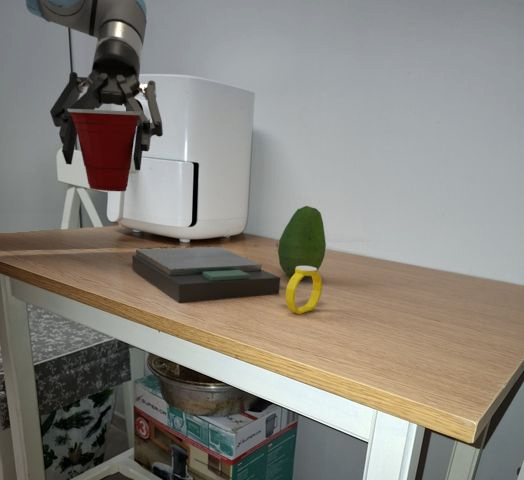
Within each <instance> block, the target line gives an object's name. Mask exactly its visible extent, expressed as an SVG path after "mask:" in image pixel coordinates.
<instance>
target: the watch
mask: <svg viewBox="0 0 524 480" xmlns="http://www.w3.org/2000/svg"><path fill="white" fill-rule="evenodd" d="M304 276H311V279H312V291H311V293H310V296H309V297H310V298H309V300H308V301H307V302H306V304H305V305H302V306H300V307H298V308H297V305H296V301H295V300H296V291H297V289H298V287H299V284H300V282H301V279H302V278H303V277H304ZM322 292H323V280H322V278H321V275H320V273H319V272H318V271H317V268H315V267H311V266H297V267H296V268H295V274H294V275H293V276H292V277H290V279H289V280H288V284H287V286H286V289H285V298H284V299H285V303H286V307H287V309H288V310H289V311H290V312H291V313H294V314H296V315H302V314H305V313H308V312H310V311H314V310H315V308H317V307H316V306H317V305H318V303H319V302H320V299H321V296H322Z"/></svg>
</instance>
